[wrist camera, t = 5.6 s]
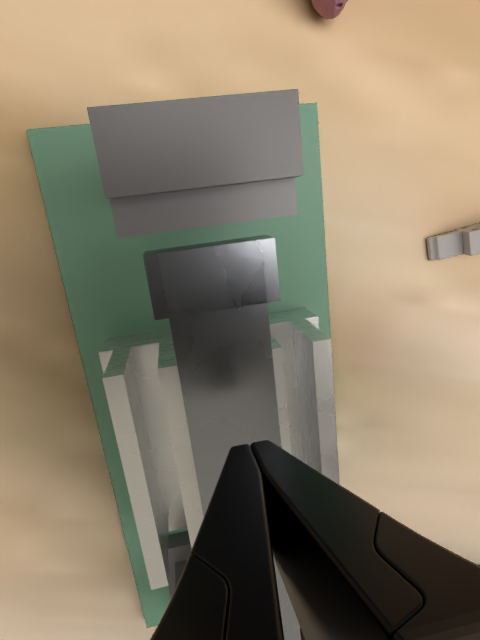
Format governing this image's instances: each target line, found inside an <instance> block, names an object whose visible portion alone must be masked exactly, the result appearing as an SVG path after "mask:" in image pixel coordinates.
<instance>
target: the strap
mask: <svg viewBox="0 0 480 640" xmlns="http://www.w3.org/2000/svg"><path fill="white" fill-rule="evenodd" d="M143 259H144V265H145V270H146V276H147V281H148V286H149V292H150V297H151V303H152V308H153V313H154V319H155V320H161V319H167V318H169V321H170V327H171V332H172V338H173V344H174V350H175V355H176V361H177V367H178V373H179V378H180V384H181V390H182V396H183V401H184V407H185V413H186V419H187V424H188V430H189V436H190V442H191V447H192V453H193V459H194V465H195V470H196V476H197V482H198V488H199V493H200V499H201V505H202V511H203V516H205V513H206V510H207V508H208V505H209V502H210V500H211V497H212V495H213V492H214V489H215V487H216V484H217V482H218V479H219V476H220V474H221V471H222V469H223V466H224V463H225V461H226V458H227V455H228V453H229V450H230V448H231V447H233V446H237V445H243V444H249V445H251V443H253V442H258V441H263V440H269V441H271V442H273V443H274V444H276V445H277V446H279V447H281V448H282V445H281V435H280V425H279V415H278V405H277V395H276V385H275V375H274V365H273V355H272V345H271V335H270V325H269V315H268V305H267V303H269V302H275V301H280V289H279V278H278V267H277V256H276V245H275V238H274V237H271V236H268V235H260V236H253V237H246V238H238V239H231V240H223V241H216V242H209V243H201V244H194V245H186V246H179V247H172V248H164V249H157V250H149V251H145V252H144V254H143ZM273 557H274V556H273ZM274 565H275V572H276V580H277V587H278V595H279V602H280V610H281V617H282V625H283V632H284V640H305V638H304V635H303V633H302V630H301V628H300V625H299V622H298V619H297V617H296V614H295V612H294V609H293V606H292V604H291V601H290V599H289V596H288V593H287V591H286V588H285V585H284V583H283V580H282V578H281V575H280V572H279V570H278V567H277V565H276V562H275V559H274Z"/></svg>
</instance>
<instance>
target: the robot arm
mask: <svg viewBox="0 0 480 640" xmlns="http://www.w3.org/2000/svg"><path fill="white" fill-rule="evenodd" d="M273 556H274V557H273ZM274 559H275V562H276V565H277V567H278V570H279V572H280V575H281V578H282V580H283V583H284V585H285V588H286V591H287V593H288V596H289V599H290V601H291V604H292V606H293V609H294V612H295V614H296V617H297V619H298V622H299V625H300V627H301V630H302V633H303V635H304V638H305V640H480V566H478V565H476V564H474V563H472V562H471V561H469V560H467V559H465V558H463V557H461V556H459V555H457V554H455V553H453V552H451V551H449V550H447V549H446V548H444V547H442V546H440V545H438V544H436V543H434V542H433V541H431V540H429V539H427V538H425V537H423V536H422V535H420V534H418V533H417V532H415V531H413V530H412V529H410V528H408V527H407V526H405V525H403V524H402V523H400V522H398V521H397V520H395V519H393V518H392V517H390V516H389V515H387V514H385V513H384V512H380V510H379V509H377V508H376V507H374V506H373V505H371V504H369V503H368V502H366V501H365V500H363V499H361V498H360V497H358V496H357V495H355V494H353V493H352V492H350V491H349V490H347V489H346V488H344V487H342V486H341V485H339V484H338V483H336V482H334V481H333V480H331V479H330V478H328V477H327V476H325V475H323V474H322V473H320V472H319V471H317V470H315V469H314V468H312V467H311V466H309V465H308V464H306V463H304V462H303V461H301V460H300V459H298V458H296V457H295V456H293V455H292V454H290V453H289V452H287V451H285V450H284V449H282V448H281V447H279V446H277V445H276V444H274V443H273V442H271V441H269V440H263V441H258V442H253V443H251V445H249V444H243V445H237V446H233V447H231V448H230V450H229V453H228V455H227V458H226V461H225V463H224V466H223V469H222V471H221V474H220V476H219V479H218V482H217V484H216V487H215V489H214V492H213V495H212V497H211V500H210V502H209V505H208V508H207V510H206V513H205V516H204V518H203V521H202V523H201V526H200V529H199V531H198V534H197V536H196V539H195V542H194V544H193V547H192V549H191V552H190V556H189V557H188V559H187V562H186V565H185V567H184V570H183V572H182V575H181V577H180V580H179V582H178V584H177V587H176V589H175V591H174V594H173V596H172V598H171V600H170V602H169V604H168V606H167V608H166V610H165V612H164V614H163V616H162V618H161V620H160V622H159V624H158V626H157V628H156V630H155V632H154V634H153V636H152V637H151V639H150V640H284V632H283V625H282V617H281V610H280V602H279V595H278V587H277V580H276V572H275V565H274Z"/></svg>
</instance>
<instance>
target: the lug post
mask: <svg viewBox="0 0 480 640" xmlns="http://www.w3.org/2000/svg"><path fill="white" fill-rule="evenodd" d="M87 110H88V115H89V120H90V125H91V130H92V135H93V140H94V145H95V150H96V155H97V159H98V164H99V169H100V174H101V179H102V184H103V189H104V194H105V199H110V204H111V209H112V214H113V219H114V224H115V229H116V234H117V238H123V237H131V236H139V235H146V234H154V233H162V232H169V231H177V230H185V229H192V228H200V227H208V226H215V225H223V224H231V223H239V222H246V221H254V220H262V219H269V218H277V217H285V216H292V215H298V206H297V193H296V180H295V177H299V176H303V175H304V169H303V155H302V141H301V126H300V112H299V98H298V89H291V90H280V91H269V92H257V93H246V94H235V95H223V96H212V97H201V98H189V99H178V100H167V101H155V102H144V103H133V104H122V105H110V106H99V107H88V108H87Z"/></svg>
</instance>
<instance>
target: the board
mask: <svg viewBox="0 0 480 640" xmlns="http://www.w3.org/2000/svg"><path fill="white" fill-rule="evenodd" d="M299 112H300V126H301V141H302V155H303V169H304V175H303V176H299V177H295V180H296V193H297V206H298V215H292V216H285V217H277V218H269V219H262V220H254V221H246V222H239V223H231V224H223V225H215V226H208V227H200V228H192V229H185V230H177V231H169V232H162V233H154V234H146V235H139V236H131V237H123V238H117V234H116V229H115V224H114V219H113V214H112V209H111V204H110V199H105V194H104V189H103V184H102V179H101V174H100V169H99V164H98V159H97V155H96V150H95V145H94V140H93V135H92V130H91V125H90V124H83V125H72V126H61V127H51V128H40V129H29V130H26V132H27V136H28V140H29V144H30V148H31V152H32V156H33V160H34V164H35V169H36V173H37V177H38V181H39V185H40V189H41V193H42V197H43V202H44V206H45V210H46V214H47V218H48V222H49V226H50V230H51V234H52V239H53V243H54V247H55V251H56V255H57V259H58V263H59V267H60V272H61V276H62V280H63V284H64V288H65V292H66V296H67V300H68V305H69V309H70V313H71V317H72V321H73V325H74V329H75V333H76V337H77V342H78V346H79V350H80V354H81V358H82V362H83V366H84V370H85V375H86V379H87V383H88V387H89V391H90V395H91V399H92V403H93V407H94V412H95V416H96V420H97V424H98V428H99V432H100V436H101V440H102V445H103V449H104V453H105V457H106V461H107V465H108V469H109V473H110V478H111V482H112V486H113V490H114V494H115V498H116V502H117V506H118V510H119V515H120V519H121V523H122V527H123V531H124V535H125V539H126V543H127V548H128V552H129V556H130V560H131V564H132V568H133V572H134V576H135V580H136V585H137V589H138V593H139V597H140V601H141V605H142V609H143V613H144V618H145V622H146V626H147V628H149V627H153V626H157V625H158V624H159V622H160V620H161V618H162V616H163V614H164V612H165V610H166V608H167V606H168V604H169V602H170V600H171V598H170V594H169V589H168V586H165V587H161V588H157V589H153V590H151V587H150V583H149V578H148V574H147V570H146V565H145V561H144V557H143V552H142V548H141V544H140V539H139V535H138V531H137V526H136V522H135V518H134V513H133V509H132V505H131V500H130V496H129V492H128V487H127V483H126V479H125V475H124V470H123V466H122V462H121V457H120V453H119V449H118V444H117V440H116V436H115V431H114V427H113V423H112V418H111V414H110V410H109V405H108V401H107V397H106V392H105V388H104V384H103V379H102V378H103V375H104V374H103V369H102V365H101V361H100V356H99V351H100V349H101V347H102V345H103V343H104V341H105V339H111V338H118V337H124V336H130V335H136V334H142V333H149V332H155V331H161V330H167V329H171V327H170V321H169V318H167V319H161V320H155V319H154V313H153V308H152V303H151V297H150V292H149V286H148V281H147V276H146V270H145V265H144V259H143V254H144V252H145V251H149V250H157V249H164V248H172V247H179V246H186V245H194V244H201V243H209V242H216V241H223V240H231V239H238V238H246V237H253V236H260V235H268V236H271V237H274V238H275V245H276V256H277V267H278V278H279V289H280V301H275V302H269V303H267V305H268V313H273V312H279V311H285V310H292V309H298V308H304V307H306V308H307V309H308V310H310V311H311V312H313V313H314V314H315V315H317V316H318V321H319V330H320V331H322V332H323V333H324V334H325V335H327V336H328V337H329V338H330V339H331V335H330V318H329V301H328V284H327V267H326V250H325V233H324V216H323V199H322V182H321V165H320V148H319V131H318V114H317V103H307V104H299ZM184 531H188V528H183V529H178V530H174V531H169V535H170V534H175V533H179V532H184Z"/></svg>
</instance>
